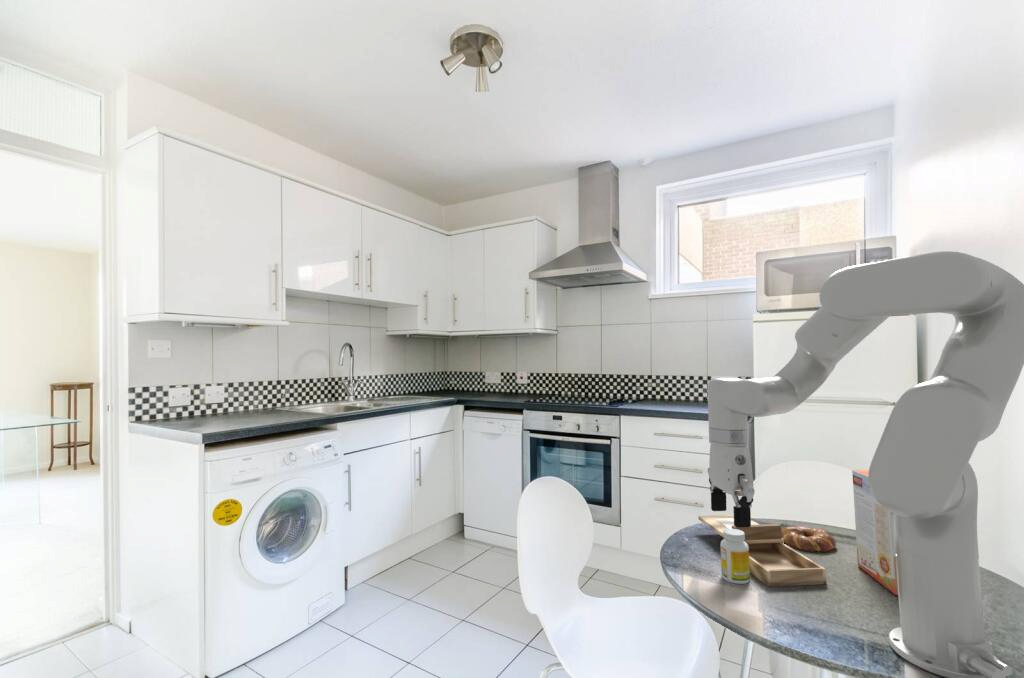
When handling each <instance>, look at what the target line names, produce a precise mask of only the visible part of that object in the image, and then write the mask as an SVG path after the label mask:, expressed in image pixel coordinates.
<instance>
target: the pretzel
mask: <svg viewBox="0 0 1024 678" xmlns="http://www.w3.org/2000/svg"><path fill="white" fill-rule="evenodd" d="M781 534H782V538H783V539H784V543H786V544H785V545H787V544H789V545H788V546H789V547H790V548H793V547H795V548H794V549H797V548H799V550H803V551H804V550H805V552H809V551H813V552H814V553H815V551H818V552H819V551H821V552H820V553H825V552H826V553H827V552H830V551H832V550H834V549H835V548H836V546H837V541H836V539H835V538H834V537H833V536H832V535H831V534H829V532H828V531H827V530H824V529H822V528H817V527H814V528H812V529H811V527H809V526H804V525H795V526H794V525H793V526H792V525H791V526H786V527H783V528H781ZM813 552H812V553H813Z"/></svg>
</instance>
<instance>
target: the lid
mask: <svg viewBox="0 0 1024 678" xmlns="http://www.w3.org/2000/svg"><path fill="white" fill-rule="evenodd" d="M697 518H698V520H699V521H700V522H702V523H703V524H705V526H707V527H709V528H710V529H711V530H713V531H714V532H715V533H717V535H720V536H721V537H722V538H723V539H725V538H724V530H725V529H738V530H741V531H743V532H744V534H745V539H744V542H746V543H747V544H757V543H781V542H784V539H783V538H782V534H781V530H782V525H781V524H779V523H766V524H759V523H758V522H756V521H754V520H752V519H751V526H750V527H735V526H734V514H722V515H721V514H719V515H717V514H716V515H700V516H699V515H698V517H697Z"/></svg>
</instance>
